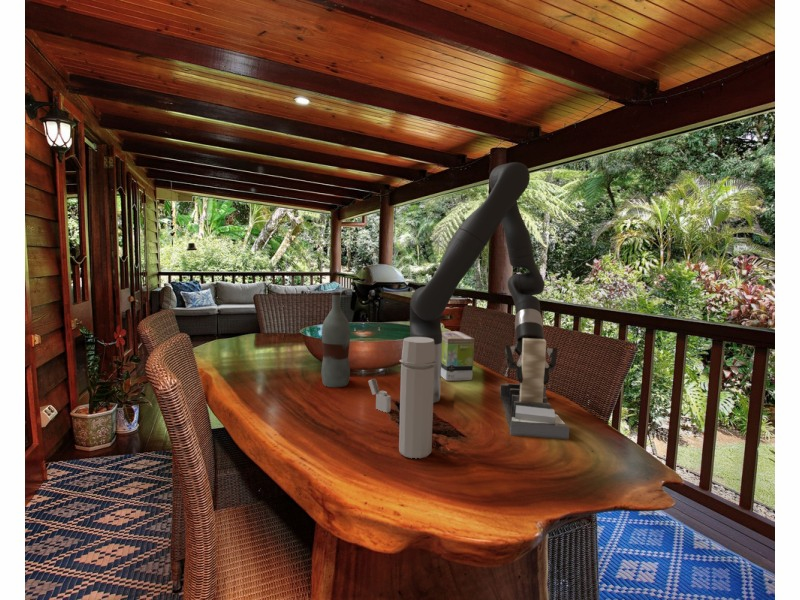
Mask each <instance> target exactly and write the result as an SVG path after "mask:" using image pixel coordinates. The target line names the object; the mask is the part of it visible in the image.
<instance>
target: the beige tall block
mask: <svg viewBox="0 0 800 600" xmlns="http://www.w3.org/2000/svg"><path fill="white" fill-rule="evenodd" d="M546 347H547V340H546V339H545V338H544V339H531V338H523V342H522V365H521V367H522V374H523V381H522V383H519V384H520V397H519V401H522V402H537V403H543V389H544V387H545V385H544V372H545V360H546V355H547V354H546V353H547V352H546Z"/></svg>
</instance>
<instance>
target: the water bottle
mask: <svg viewBox="0 0 800 600" xmlns="http://www.w3.org/2000/svg"><path fill="white" fill-rule="evenodd" d="M399 362H400V363H401V364H400V391H399V392H400V396H399V428H398V429H399V431H398V432H399V436H398V437H399V439H398V440H399V441H398V450H399V453H400V455H402V456H403V457H406V458H409V459H412V458H415V459H414V460H419V459H423V458H424V459H425V458H427V457H428V456H429V455H430V454H431V453H432V446H433V444H432V443H433V442H432V441H433V422H434V421H433V417H434V415H433V414H434V403H433V391H434V365H433V364H436V363H437V362H435V345H434V340H433V339H431V338H426V337H411V336H408V337H404V338H403V341H402V351H401V359H399ZM417 458H419V459H417Z"/></svg>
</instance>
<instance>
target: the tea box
mask: <svg viewBox="0 0 800 600" xmlns="http://www.w3.org/2000/svg"><path fill="white" fill-rule="evenodd" d="M474 349H475V338H474V337H471V336H470V335H467V334H465V333H463V332H461V331H456V330H455V331H442V355H441V377H442V378H443V379H444V381H447V382H449V381H452V382H453V381H456V382H457V381H472V380H473V374H474V373H473V371H474V370H473V369H474V367H473V366H474V351H475V350H474Z"/></svg>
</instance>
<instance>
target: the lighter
mask: <svg viewBox="0 0 800 600" xmlns="http://www.w3.org/2000/svg"><path fill="white" fill-rule="evenodd" d="M367 382H368V385H369V388H370V391H371V394H372V396H373V395H375V410H376V409H378V410H377V411H379V410H380V411H379V412H382V411H383V413H385V412H386V414H387V413H390V412H391V408H392V407H391V404H392V399H391V398H392V397H391V395H389V394H388V392H387V391H385V390H380V388H379V385H378V382H377V379H376V378H371V379H369V380H368V381H367Z"/></svg>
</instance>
